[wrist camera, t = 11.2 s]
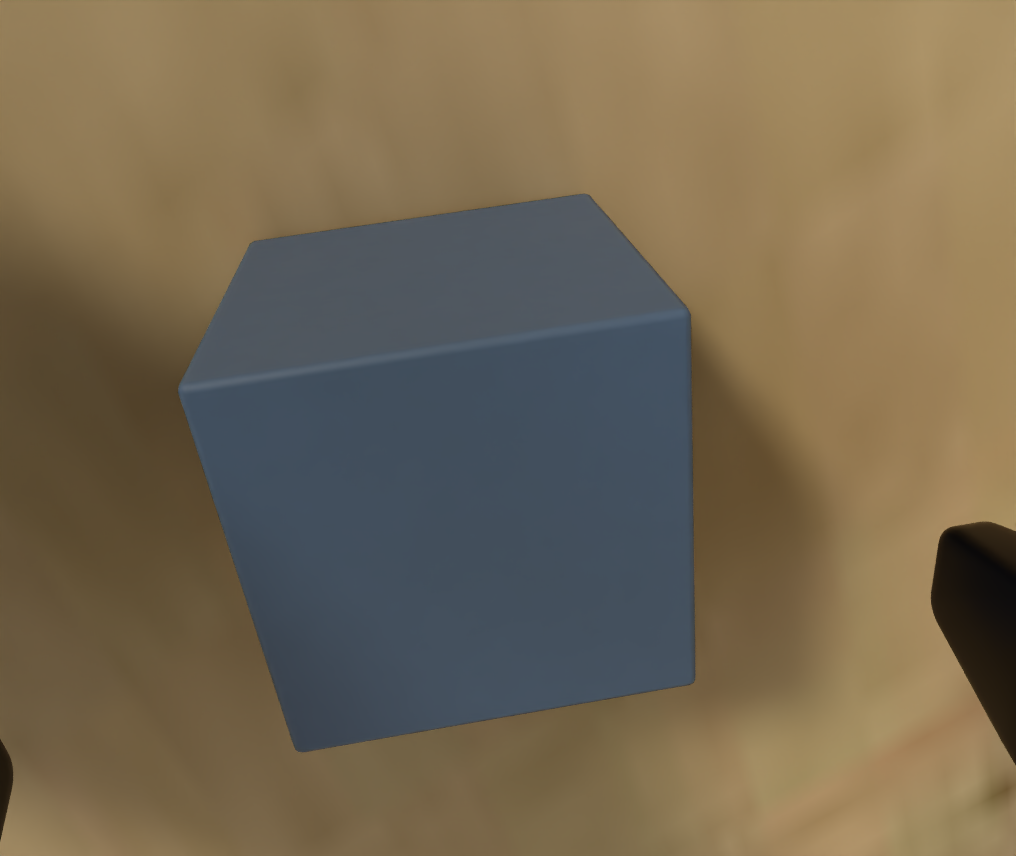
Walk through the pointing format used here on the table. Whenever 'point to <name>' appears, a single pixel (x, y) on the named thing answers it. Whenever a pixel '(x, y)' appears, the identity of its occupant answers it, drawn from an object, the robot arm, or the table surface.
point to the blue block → (453, 467)
